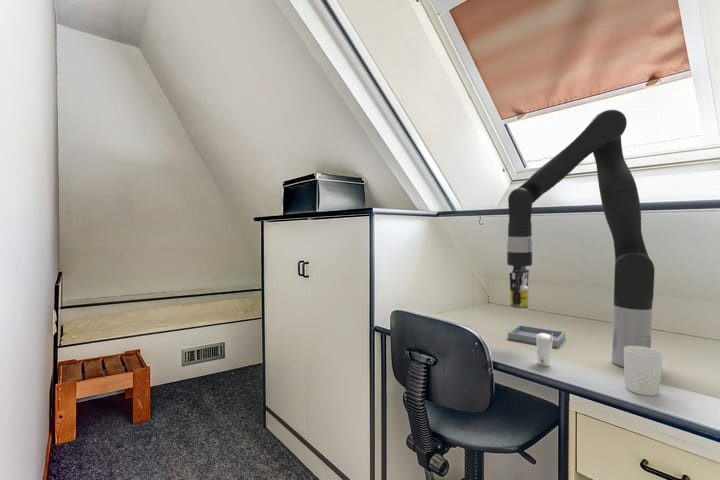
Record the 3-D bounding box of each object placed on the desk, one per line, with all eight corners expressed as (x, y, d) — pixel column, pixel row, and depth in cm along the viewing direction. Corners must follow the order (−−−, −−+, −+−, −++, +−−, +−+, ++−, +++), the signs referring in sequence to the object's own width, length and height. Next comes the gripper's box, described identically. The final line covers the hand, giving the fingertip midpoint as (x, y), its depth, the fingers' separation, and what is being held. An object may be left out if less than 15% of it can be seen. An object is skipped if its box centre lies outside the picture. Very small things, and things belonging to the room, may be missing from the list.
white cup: (666, 399, 91) (668, 357, 91) (627, 394, 94) (628, 353, 94) (655, 386, 98) (656, 347, 98) (618, 381, 101) (620, 344, 101)
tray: (565, 338, 140) (565, 332, 140) (557, 348, 128) (557, 341, 128) (518, 331, 149) (518, 324, 149) (507, 339, 138) (508, 332, 138)
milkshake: (544, 369, 110) (545, 334, 110) (531, 362, 115) (532, 329, 115) (558, 367, 111) (558, 333, 111) (544, 361, 117) (545, 328, 116)
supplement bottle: (509, 309, 125) (509, 279, 124) (511, 306, 129) (511, 277, 129) (527, 311, 122) (527, 280, 122) (528, 307, 127) (529, 278, 127)
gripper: (526, 252, 117) (525, 307, 118) (537, 249, 129) (536, 300, 129) (500, 251, 122) (500, 305, 122) (513, 249, 133) (513, 298, 134)
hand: (519, 302), depth 126 cm, fingers closed on supplement bottle, 5 cm apart
